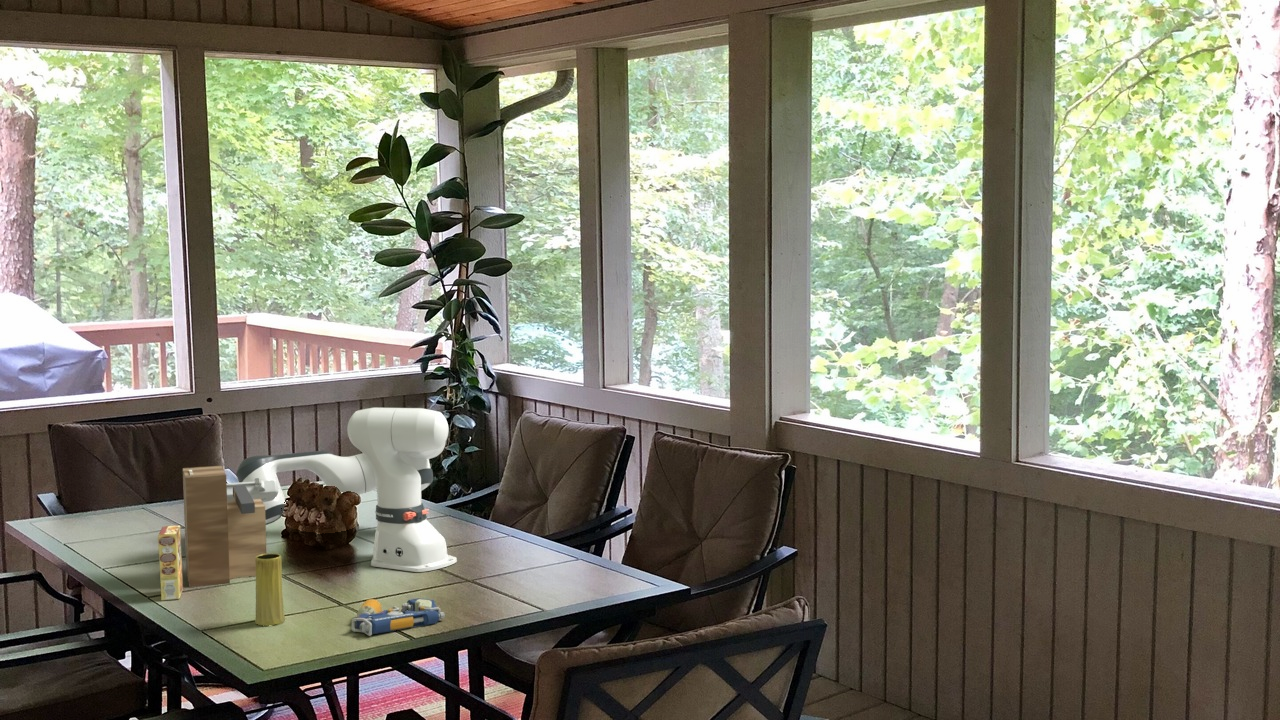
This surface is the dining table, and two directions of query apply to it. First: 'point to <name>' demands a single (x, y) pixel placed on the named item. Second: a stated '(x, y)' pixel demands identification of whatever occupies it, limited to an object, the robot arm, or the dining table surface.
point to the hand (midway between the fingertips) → (238, 482)
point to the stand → (219, 530)
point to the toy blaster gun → (396, 616)
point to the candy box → (170, 562)
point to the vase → (269, 589)
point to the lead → (243, 499)
